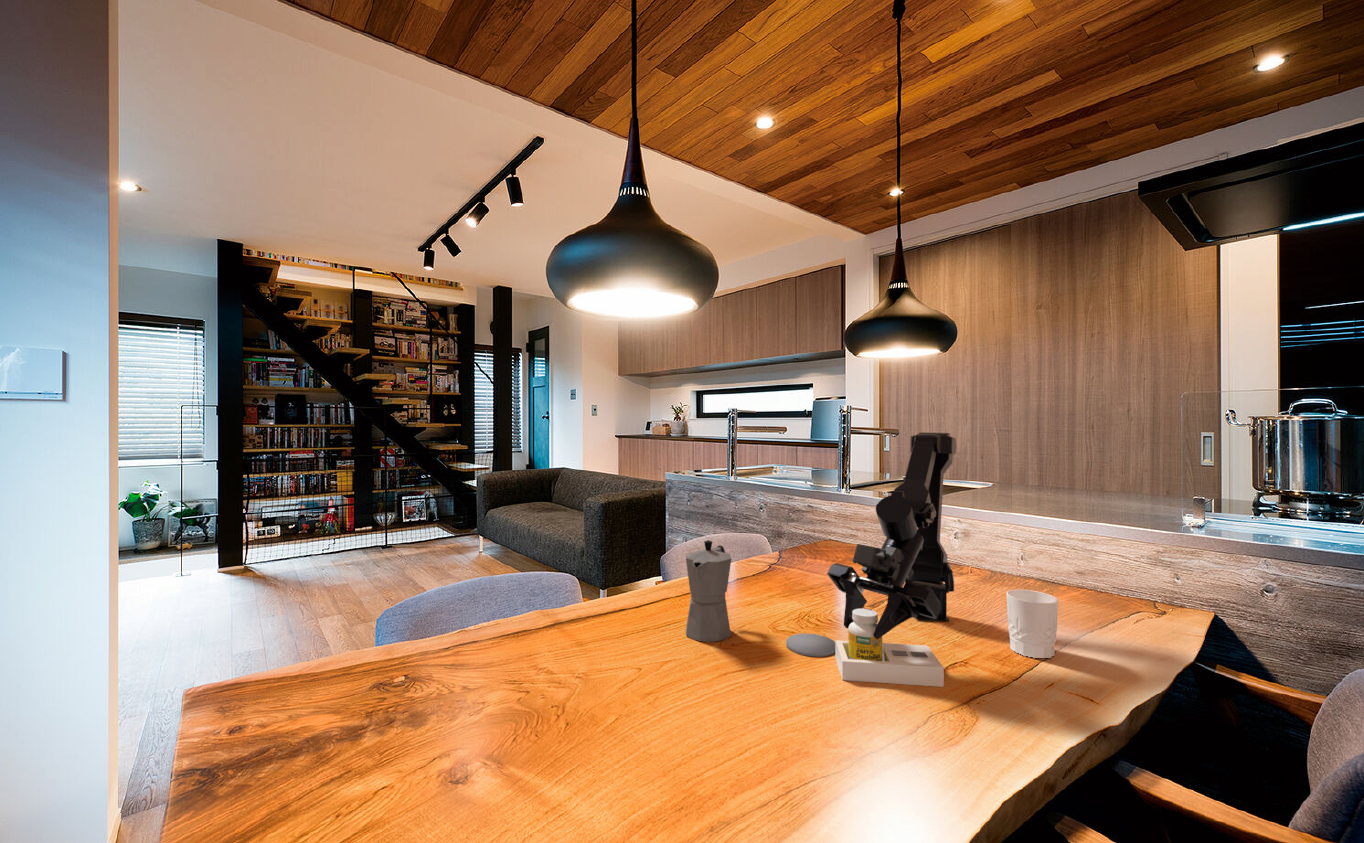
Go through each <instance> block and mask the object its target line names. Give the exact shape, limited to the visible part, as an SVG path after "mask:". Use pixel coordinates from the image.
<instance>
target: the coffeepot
mask: <svg viewBox="0 0 1364 843" xmlns="http://www.w3.org/2000/svg"><path fill="white" fill-rule="evenodd" d="M712 546H713V540H704V548H705V549H701V550H696V551H693V552H688V553H685V562H686V570H687V578H688V585H689V592H690V600H689V605H688V606H689V607H688V612H687V618H686V619H687V620H686V625H685V636H686V637H688V638H690V639H691V640H694V641H696V640H698V641H697V642H701V641H703V643H715V642H716V641H717V642H721V640H722V641H725V640H727V639H728V638H730V637H731V636H732V635H731V634H732V633H731V627H730V621H729V613H728V608H727V607H728V606H727V600H726V593H727V592H728V584H729V577H730V570H731V564H732V556H731V553H729V552H726V551H725V548H724V546H722V545H717V546H716V547H713V548H712Z"/></svg>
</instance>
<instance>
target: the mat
mask: <svg viewBox="0 0 1364 843" xmlns="http://www.w3.org/2000/svg"><path fill="white" fill-rule="evenodd" d="M785 645H786V647H787V649H789V650H790V651H791V652H793V653H795V654H797V655H801V656H805V657H811V658H812V657H815V658H821V657H828V656H832V655H834V654H835V641H834V640H833V639H831V638H829V637H827V636H824V635H822V634H818V633H817V634H816V633H796V634H792V635H790V636H789V637H787V638H786V639H785Z"/></svg>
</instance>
